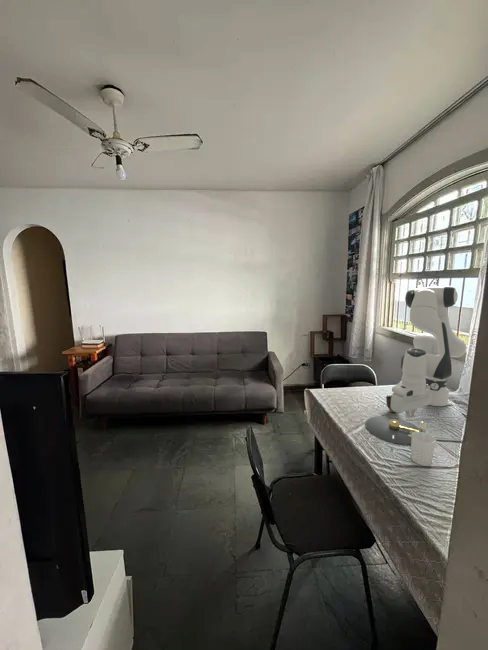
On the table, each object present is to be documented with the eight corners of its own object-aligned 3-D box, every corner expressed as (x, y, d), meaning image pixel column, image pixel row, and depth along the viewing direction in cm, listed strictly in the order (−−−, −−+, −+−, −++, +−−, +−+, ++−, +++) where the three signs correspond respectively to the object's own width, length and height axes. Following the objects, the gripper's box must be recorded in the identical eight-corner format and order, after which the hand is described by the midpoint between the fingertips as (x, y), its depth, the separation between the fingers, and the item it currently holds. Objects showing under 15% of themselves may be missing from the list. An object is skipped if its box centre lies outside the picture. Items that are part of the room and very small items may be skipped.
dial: (368, 413, 148) (368, 411, 148) (422, 424, 136) (422, 423, 136) (362, 435, 127) (363, 433, 127) (425, 451, 116) (425, 448, 115)
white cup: (407, 452, 115) (410, 429, 113) (430, 457, 112) (433, 433, 110) (410, 464, 108) (413, 440, 106) (435, 469, 105) (438, 444, 103)
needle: (387, 428, 131) (389, 416, 130) (389, 424, 135) (390, 412, 134) (424, 438, 123) (425, 425, 122) (424, 433, 126) (426, 421, 125)
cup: (402, 416, 145) (404, 401, 144) (387, 414, 147) (388, 400, 145) (398, 409, 152) (399, 395, 151) (383, 408, 154) (384, 394, 152)
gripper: (423, 380, 125) (420, 409, 128) (388, 388, 118) (386, 418, 121) (437, 385, 120) (434, 415, 122) (402, 394, 112) (399, 425, 115)
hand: (410, 417), depth 121 cm, fingers closed
